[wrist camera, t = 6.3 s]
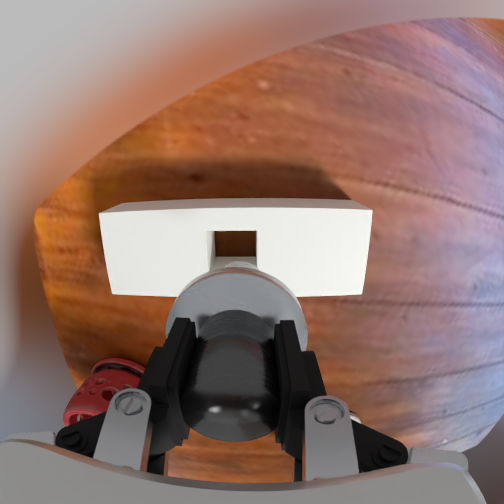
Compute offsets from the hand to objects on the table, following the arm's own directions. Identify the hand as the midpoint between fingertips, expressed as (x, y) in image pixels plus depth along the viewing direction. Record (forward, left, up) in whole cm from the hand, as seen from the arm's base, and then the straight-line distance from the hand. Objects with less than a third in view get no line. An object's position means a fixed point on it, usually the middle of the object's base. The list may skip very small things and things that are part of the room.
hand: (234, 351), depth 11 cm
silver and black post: (0, 0, -7) cm, 7 cm away
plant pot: (-23, +17, -19) cm, 34 cm away
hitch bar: (-1, +1, -19) cm, 19 cm away
